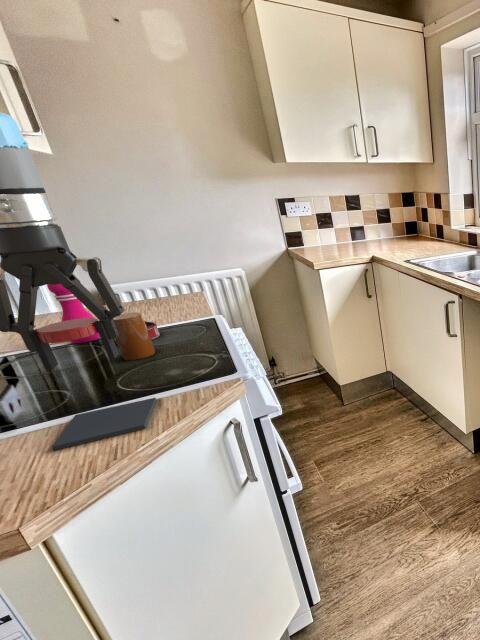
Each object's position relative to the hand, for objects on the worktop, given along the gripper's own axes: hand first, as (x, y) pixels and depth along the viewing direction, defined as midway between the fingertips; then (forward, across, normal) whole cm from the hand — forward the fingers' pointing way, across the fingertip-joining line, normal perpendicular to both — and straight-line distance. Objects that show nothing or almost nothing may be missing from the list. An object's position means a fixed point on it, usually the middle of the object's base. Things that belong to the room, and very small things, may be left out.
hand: (84, 361), depth 72 cm
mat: (+12, 0, 0) cm, 12 cm away
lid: (-6, 0, 0) cm, 6 cm away
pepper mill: (+12, -18, +65) cm, 69 cm away
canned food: (+12, -5, +57) cm, 59 cm away
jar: (+12, -2, +40) cm, 42 cm away
